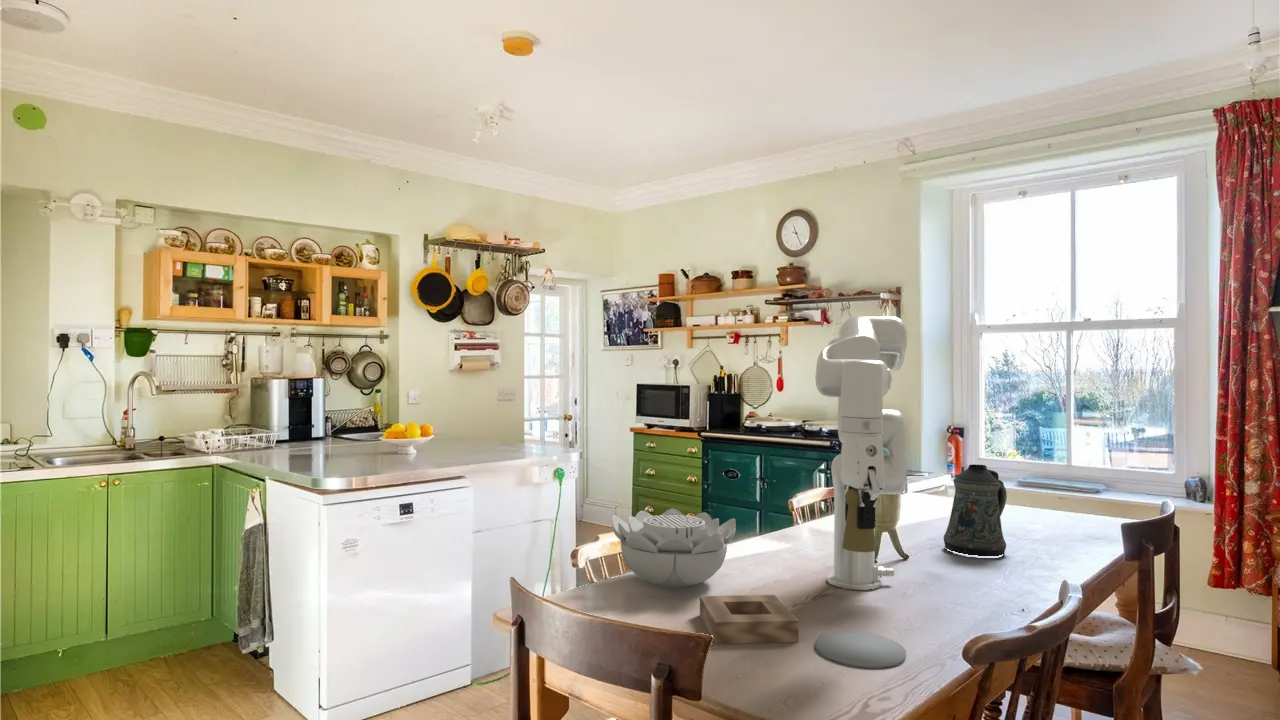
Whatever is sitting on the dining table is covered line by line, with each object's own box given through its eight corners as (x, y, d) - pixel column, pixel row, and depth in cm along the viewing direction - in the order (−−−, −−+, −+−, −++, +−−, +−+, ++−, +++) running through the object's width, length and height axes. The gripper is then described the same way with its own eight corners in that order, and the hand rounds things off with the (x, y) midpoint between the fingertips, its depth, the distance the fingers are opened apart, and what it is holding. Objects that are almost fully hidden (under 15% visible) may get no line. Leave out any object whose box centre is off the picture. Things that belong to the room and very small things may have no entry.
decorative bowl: (760, 596, 168) (761, 530, 168) (635, 606, 159) (636, 536, 160) (710, 562, 197) (711, 506, 197) (602, 569, 188) (603, 510, 189)
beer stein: (937, 553, 211) (938, 465, 212) (952, 540, 227) (953, 459, 228) (1001, 562, 202) (1002, 471, 202) (1012, 549, 218) (1013, 464, 218)
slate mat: (882, 634, 145) (882, 630, 145) (922, 667, 129) (922, 662, 129) (803, 635, 143) (803, 631, 143) (833, 669, 127) (833, 664, 127)
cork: (878, 553, 133) (878, 491, 133) (843, 551, 134) (844, 490, 134) (874, 545, 139) (875, 486, 139) (841, 543, 140) (842, 485, 140)
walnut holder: (774, 613, 156) (774, 594, 156) (798, 641, 140) (798, 620, 140) (699, 615, 154) (699, 596, 154) (715, 643, 138) (715, 622, 138)
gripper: (901, 431, 129) (899, 535, 129) (862, 423, 146) (861, 515, 146) (859, 430, 128) (858, 536, 128) (825, 423, 145) (824, 515, 145)
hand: (859, 524), depth 137 cm, fingers closed on cork, 4 cm apart
